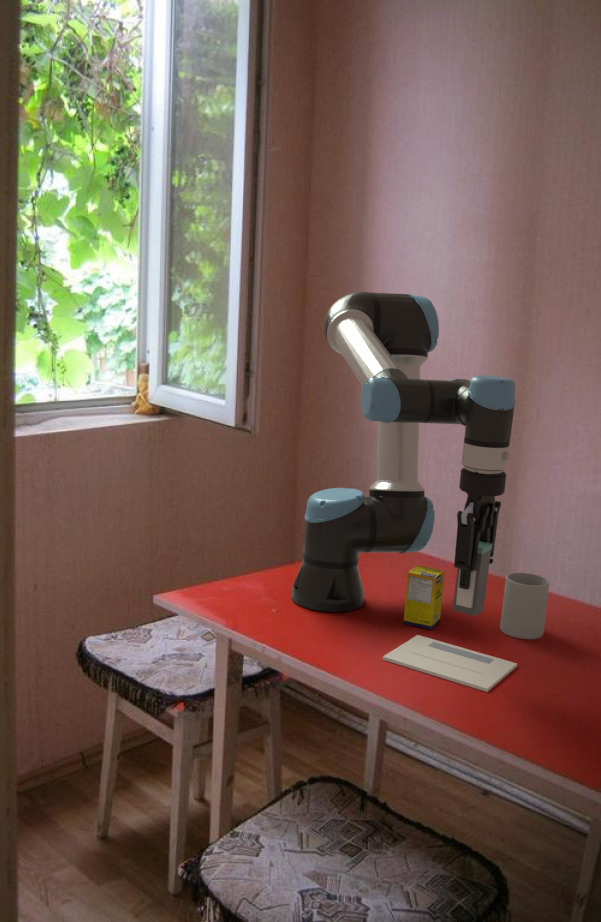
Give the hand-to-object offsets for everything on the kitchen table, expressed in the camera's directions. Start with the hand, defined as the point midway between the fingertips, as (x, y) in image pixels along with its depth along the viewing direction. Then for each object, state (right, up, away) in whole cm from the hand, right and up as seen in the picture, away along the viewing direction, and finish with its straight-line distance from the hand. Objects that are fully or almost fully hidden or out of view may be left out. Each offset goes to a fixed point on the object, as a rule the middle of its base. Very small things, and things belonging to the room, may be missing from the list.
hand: (469, 602), depth 164 cm
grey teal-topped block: (0, -1, 0) cm, 2 cm away
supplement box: (-5, -8, +27) cm, 29 cm away
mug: (+15, -10, +28) cm, 33 cm away
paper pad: (-2, -12, +8) cm, 15 cm away
